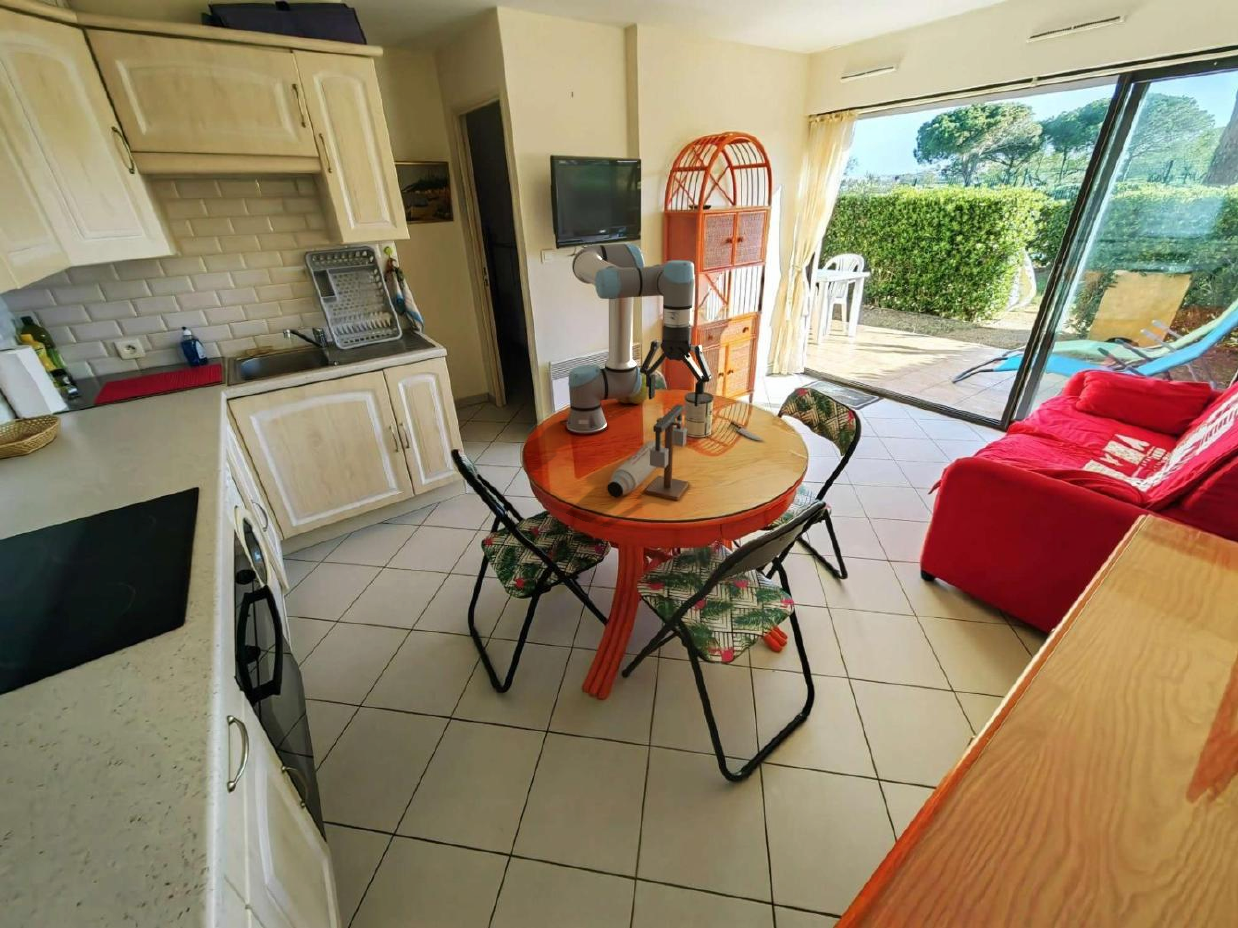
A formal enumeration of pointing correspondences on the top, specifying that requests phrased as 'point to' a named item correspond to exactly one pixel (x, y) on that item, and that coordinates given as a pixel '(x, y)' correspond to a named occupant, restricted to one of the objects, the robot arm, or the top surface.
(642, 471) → the thermos bottle
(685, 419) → the coffee can
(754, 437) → the chef's knife
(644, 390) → the fruit
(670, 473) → the stand
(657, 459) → the headphones
